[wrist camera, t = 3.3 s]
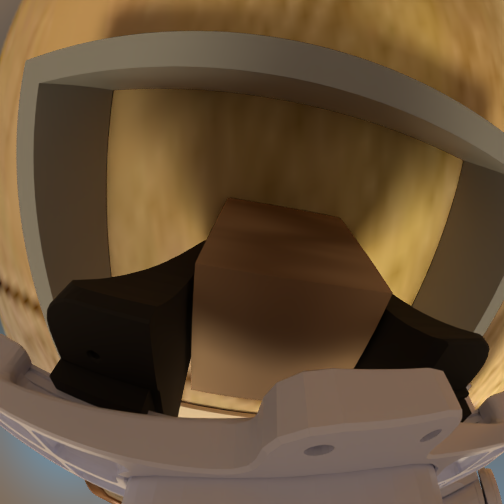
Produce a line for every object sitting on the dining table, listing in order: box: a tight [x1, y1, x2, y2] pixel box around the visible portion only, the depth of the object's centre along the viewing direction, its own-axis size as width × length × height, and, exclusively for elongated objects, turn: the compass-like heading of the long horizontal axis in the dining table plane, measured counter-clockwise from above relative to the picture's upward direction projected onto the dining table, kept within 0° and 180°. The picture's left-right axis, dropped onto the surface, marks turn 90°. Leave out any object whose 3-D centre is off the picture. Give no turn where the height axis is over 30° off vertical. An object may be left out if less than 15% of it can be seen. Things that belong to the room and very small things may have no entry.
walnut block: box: [191, 198, 392, 400], centre depth 10 cm, size 5×5×6 cm
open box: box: [17, 31, 504, 359], centre depth 11 cm, size 19×20×5 cm
